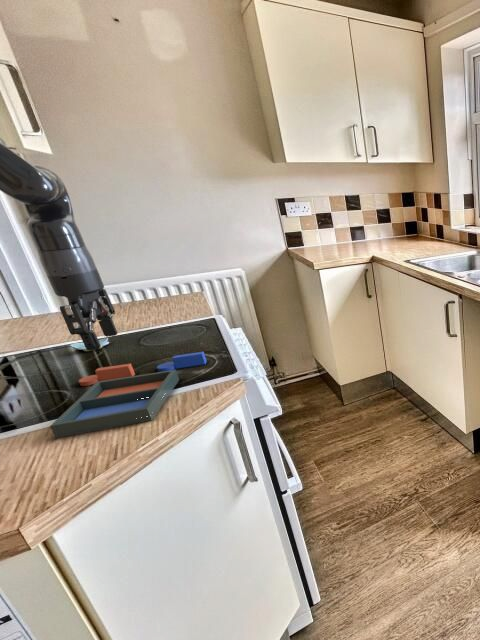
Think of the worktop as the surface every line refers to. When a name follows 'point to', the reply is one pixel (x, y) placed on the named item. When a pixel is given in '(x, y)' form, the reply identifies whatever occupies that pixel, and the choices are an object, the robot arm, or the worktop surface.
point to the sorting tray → (116, 403)
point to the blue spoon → (183, 361)
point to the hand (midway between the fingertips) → (103, 342)
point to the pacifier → (82, 347)
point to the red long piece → (108, 374)
